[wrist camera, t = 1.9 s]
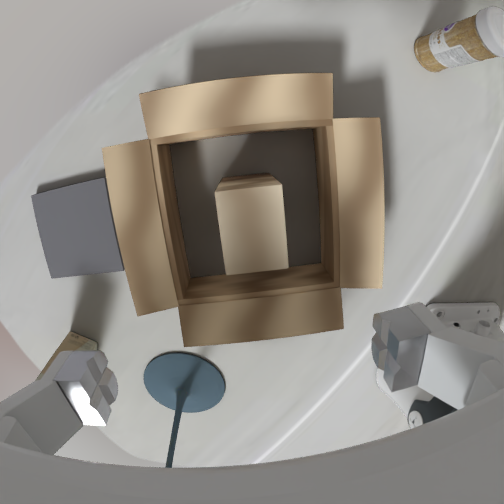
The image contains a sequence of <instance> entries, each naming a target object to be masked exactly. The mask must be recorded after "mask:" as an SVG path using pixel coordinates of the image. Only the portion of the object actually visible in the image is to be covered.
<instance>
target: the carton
mask: <svg viewBox="0 0 504 504" xmlns="http://www.w3.org/2000/svg"><path fill="white" fill-rule="evenodd" d="M139 97H140V102H141V107H142V112H143V117H144V121H145V126H146V131H147V135H148V139H146V140H140V141H135V142H129V143H124V144H119V145H114V146H110V147H105V148H102V152H103V159H104V166H105V173H106V179H107V185H108V191H109V197H110V203H111V208H112V213H113V218H114V223H115V228H116V233H117V238H118V242H119V247H120V251H121V255H122V259H123V264H124V268H125V272H126V276H127V279H128V283H129V287H130V291H131V294H132V298H133V302H134V305H135V309H136V312H137V316H141V315H146V314H150V313H154V312H158V311H162V310H166V309H170V308H174V307H178V309H179V316H180V323H181V330H182V336H183V343H184V347H192V346H206V345H218V344H230V343H240V342H250V341H259V340H268V339H276V338H284V337H292V336H299V335H306V334H313V333H320V332H326V331H333V330H339V329H344V325H343V311H342V298H341V288H381V289H382V280H383V261H384V169H383V150H382V136H381V124H380V118H337V119H333V73H289V74H270V75H257V76H246V77H236V78H227V79H219V80H211V81H204V82H198V83H192V84H186V85H180V86H174V87H169V88H164V89H159V90H154V91H150V92H145V93H141V94H139ZM300 129H313V135H314V146H315V157H316V170H317V183H318V198H319V216H320V236H321V263H318V264H310V265H302V266H293V267H289V268H287V269H278V270H270V271H261V272H252V273H243V274H234V275H226V274H223V275H214V276H205V277H195V278H191V277H190V272H189V266H188V261H187V256H186V250H185V244H184V239H183V233H182V227H181V221H180V215H179V208H178V202H177V195H176V189H175V182H174V175H173V168H172V160H171V153H170V144H176V143H182V142H189V141H195V140H202V139H209V138H217V137H224V136H233V135H241V134H251V133H261V132H272V131H285V130H300Z"/></svg>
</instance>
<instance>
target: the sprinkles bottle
mask: <svg viewBox="0 0 504 504" xmlns="http://www.w3.org/2000/svg"><path fill="white" fill-rule="evenodd" d="M414 52H415V55H416V58H417V59H418V61H419V63H420V64H421V65H422V66H423V67H424V68H426V69H427V70H429V71H431V72H439V71H441V70H443V69H446V68H453V67H457V66H461V65H466V64H470V63H474V62H478V61H483V60H485V59H489V58H494V57H504V10H502V9H501V8H498V7H494V6H492V7H488V8H485V9H483V10H480V11H479V12H478V13H477V14H476V15H474V16H472V17H469V18H466V19H464V20H462V21H458V22H455V23H453V24H451V25H448V26H446V27H444V28H441V29H439V30H436V31H434V32H433V33H431V34H429V35H427V36H422V37H420V38H418V39H417V40H416V42H415V45H414Z"/></svg>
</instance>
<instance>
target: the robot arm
mask: <svg viewBox="0 0 504 504" xmlns="http://www.w3.org/2000/svg"><path fill="white" fill-rule="evenodd" d="M438 312H439V313H438ZM437 313H438V314H437ZM499 325H500V309H499V306H498V305H497V304H496V303H494V302H489V303H433V304H429V305H428V306H427V307H426V306H425V305H424V304H423V303H420V302H417V303H414V304H410V305H407V306H404V307H401V308H397V309H393V310H389V311H385V312H381V313H377V314H374V318H373V328H374V329H375V331H376V334H375V335H374V336H373V338H372V355H373V359H374V361H375V364H376V366H377V367H378V369H377V375H376V379H377V384H378V387H379V388H380V390H381V391H382V392H383V393H384V394H386V395H387V396H388V397H389V398H390V399H391V400H392V401H393V402H394V403H395V404H396V405H397V406H398V407H399V409H400V410H401V411H402V413H403V414H404V415H405V417H406V418H407V420H408V424H409V426H410V429H409V430H406V431H403V432H400V433H397V434H394V435H391V436H388V437H384V438H381V439H378V440H374V441H371V442H367V443H364V444H360V445H356V446H352V447H348V448H344V449H340V450H335V451H331V452H326V453H322V454H317V455H311V456H306V457H300V458H294V459H288V460H282V461H274V462H267V463H258V464H249V465H238V466H224V467H201V468H161V467H159V468H158V467H140V466H126V465H115V464H105V463H98V462H90V461H83V460H77V459H71V458H65V457H60V456H55V455H54V454H55V453H56V452H57V451H58V450H59V449H60V448H61V447H62V446H63V445H64V444H65V443H66V442H67V441H68V440H69V439H70V438H71V437H72V436H73V435H74V434H75V433H76V432H77V431H78V430H80V429H81V428H82V427H83V424H85V425H106V423H107V421H108V418H109V416H110V413H111V408H110V406H109V405H110V404H112V403H113V402H114V401H115V400H116V397H117V395H118V383H117V379H116V377H115V375H114V373H113V372H112V371H111V370H110V369H109V368H107V364H108V360H107V358H106V356H105V354H104V353H103V352H102V351H100V350H91V351H62V352H60V353H59V354H58V355H57V357H56V358H55V360H54V361H53V362H52V364H51V365H50V367H49V368H48V369H47V371H46V372H45V374H44V375H43V377H42V378H41V380H36V381H34V382H33V383H31V384H29V385H28V386H26V387H25V388H23V389H21V390H20V391H18V392H17V393H15V394H13V395H12V396H10V397H8V398H7V399H5V400H3V401H2V402H0V504H504V333H503V331H502V330H501V329H500V328H499Z"/></svg>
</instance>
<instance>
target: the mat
mask: <svg viewBox="0 0 504 504" xmlns="http://www.w3.org/2000/svg"><path fill="white" fill-rule="evenodd" d="M31 197H32V202H33V207H34V212H35V217H36V222H37V226H38V230H39V234H40V238H41V242H42V246H43V250H44V254H45V257H46V261H47V264H48V268H49V271H50V275H51V278H60V277H70V276H79V275H89V274H98V273H107V272H116V271H124V269H125V268H124V264H123V259H122V255H121V251H120V247H119V242H118V238H117V233H116V228H115V223H114V218H113V213H112V208H111V203H110V197H109V191H108V185H107V179H106V177H103V178H99V179H94V180H90V181H86V182H81V183H77V184H73V185H69V186H65V187H61V188H57V189H53V190H49V191H46V192H42V193H38V194H35V195H32V196H31Z"/></svg>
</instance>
